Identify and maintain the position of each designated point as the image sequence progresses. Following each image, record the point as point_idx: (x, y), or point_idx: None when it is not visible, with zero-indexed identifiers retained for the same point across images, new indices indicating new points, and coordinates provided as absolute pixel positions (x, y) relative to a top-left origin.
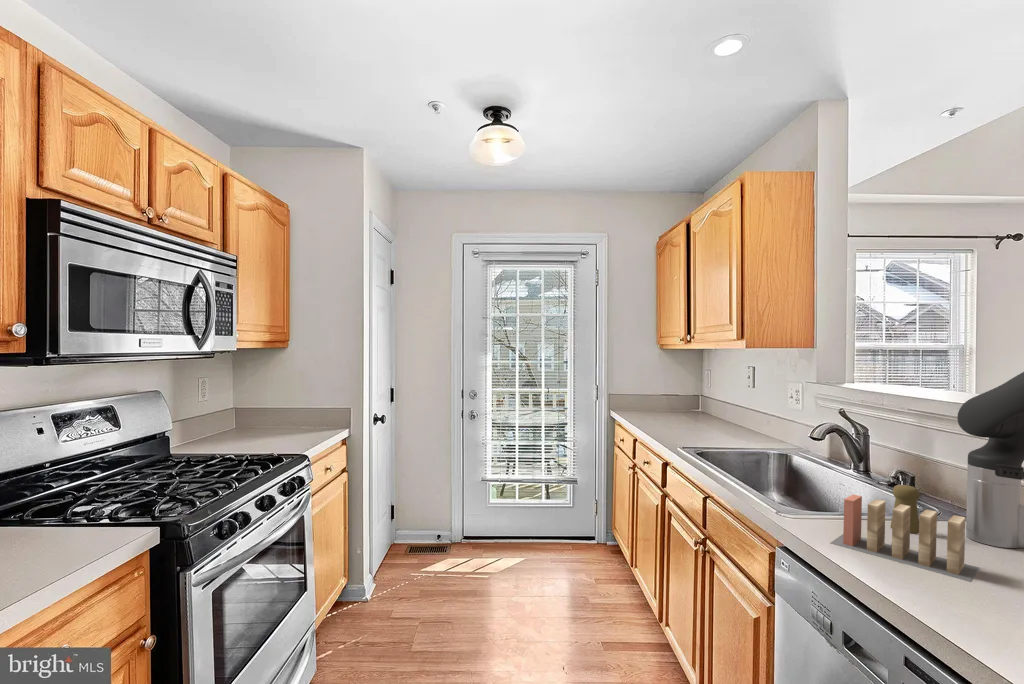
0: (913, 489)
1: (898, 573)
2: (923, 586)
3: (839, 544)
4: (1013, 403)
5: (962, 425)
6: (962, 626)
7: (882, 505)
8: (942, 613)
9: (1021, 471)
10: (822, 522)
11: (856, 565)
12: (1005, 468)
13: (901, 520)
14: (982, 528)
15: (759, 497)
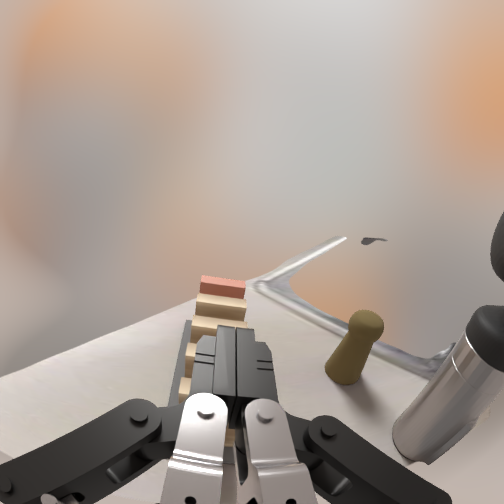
0: (368, 325)
1: (131, 379)
2: (100, 399)
3: (190, 327)
4: None
5: (491, 246)
6: (3, 408)
7: (226, 309)
8: (25, 400)
9: (186, 399)
10: (273, 310)
11: (128, 343)
12: (196, 350)
13: (191, 336)
14: (406, 422)
15: (298, 268)
